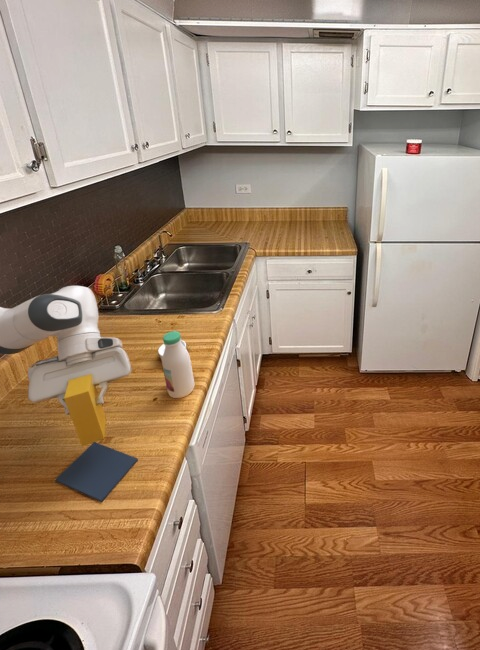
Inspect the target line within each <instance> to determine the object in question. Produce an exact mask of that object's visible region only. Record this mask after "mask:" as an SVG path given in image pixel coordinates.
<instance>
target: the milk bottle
mask: <svg viewBox="0 0 480 650" xmlns="http://www.w3.org/2000/svg"><path fill="white" fill-rule="evenodd" d="M181 340H182V336H181V332H179V331H177V330H171V331H168V332H167V333H165V334H164V335H163V337H162V341H163V344H164V345H165V351H164V354H163V357H162V360H161V365H162V371H163V375H164V381H165V386H166V390H167V394H168V395H169V396H170V397H171V398H173V399H182V398H185V397H188V395H190V394H191V393H192V392H193V391H194V389H195V378H194V372H193V367H192V361H191V356H190V353H189V351H188V349H187V347H186V348H185V347H184V346H183V345H182V343H181Z"/></svg>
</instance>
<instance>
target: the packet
mask: <svg viewBox="0 0 480 650" xmlns="http://www.w3.org/2000/svg"><path fill="white" fill-rule="evenodd" d="M96 397H99V393H98V390H97V386H95V385H93V381H92V374H89V375H85V376H82V377H78V378H75V379H71V380H69V381H68V385H67V389H66V393H65V397H64V400H65V402H66V405H67V408H68V410H69V413H70V414H69V415H70V418H71V421H72V423H73V426H74V429H75V432H76V435H77V438H78V440H79V443H80V446H81V447H82V448H83V447H85V446H88V445H89V446H90V445H92V444H93V443H94V442H96V443H98V442H100V441H103V440H105V436H106V425H107V419H106V415H105V412H104V409H103V406H102V405H103V404H101V405H97V406H96V401H95V398H96Z"/></svg>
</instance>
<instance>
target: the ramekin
mask: <svg viewBox="0 0 480 650" xmlns="http://www.w3.org/2000/svg"><path fill="white" fill-rule="evenodd" d="M181 343H182V345H183V346H184V347H185V348H186V349H187V343H186V341H185V340H183V339H181ZM164 351H165V345H164V343H163V344H161V345H160V346H159V347H158V349H157V353H158V355H159V357H160V360H161V361H162V357H163V354H164Z"/></svg>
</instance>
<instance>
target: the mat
mask: <svg viewBox="0 0 480 650" xmlns="http://www.w3.org/2000/svg"><path fill="white" fill-rule="evenodd" d="M137 462H139V459H138V458H137V457H135V456H133V455H130V454H127V453H125V452H122V451H119V450H116V449H114V448H111V447H109V446H106V445H103V444H101V443H99V442H94V443H91V444H90V445H89V446H88V447H87V448H86V449H85V450H84V451H83V452H82V453H81V454H80V455H79V456H78V457H77V458H76V459H74V461H73V462H71V464H69V465H68V466H67V467H66V469H64V470H63V471H62V472H61V473H60V474H59V475H58V476H57V477H56V478H55V479H54V481H55V483H58V484H60V485H62V486H65V487H67V488H69V489H72V490H74V491H76V492H78V493H80V494H82V495H84V496H87V497H89V498H91V499H94V500H96V501H97V502H100V503H103V502H104V501H105V500H106V498H107V497H108V496H109V495H110V493H111V492H112V491H113V490H114V489H115V488H116V487H117V486H118V484H119V483H120V482H121V481H122V479H123V478H124V477H125V476H126V475H127V474H128V473H129V472H130V470H131V469H132V468H133V467H134V466H135V464H136V463H137Z"/></svg>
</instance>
